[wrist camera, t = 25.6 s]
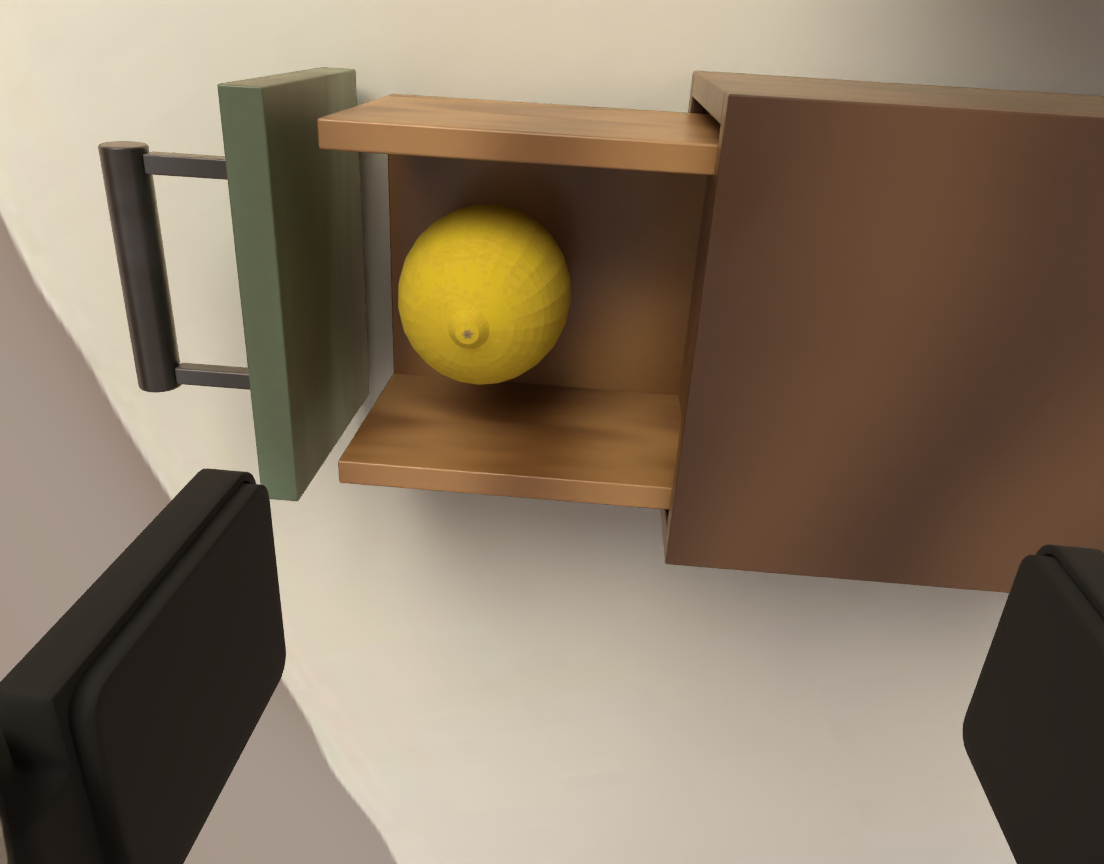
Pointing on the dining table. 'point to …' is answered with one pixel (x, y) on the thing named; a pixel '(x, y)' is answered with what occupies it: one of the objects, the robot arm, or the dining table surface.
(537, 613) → the dining table surface
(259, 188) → the drawer
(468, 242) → the lemon
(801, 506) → the cabinet
